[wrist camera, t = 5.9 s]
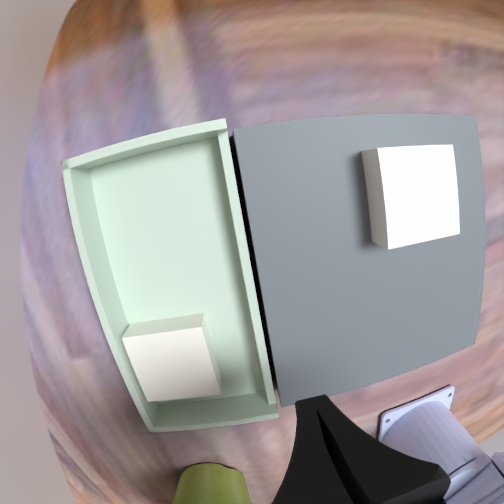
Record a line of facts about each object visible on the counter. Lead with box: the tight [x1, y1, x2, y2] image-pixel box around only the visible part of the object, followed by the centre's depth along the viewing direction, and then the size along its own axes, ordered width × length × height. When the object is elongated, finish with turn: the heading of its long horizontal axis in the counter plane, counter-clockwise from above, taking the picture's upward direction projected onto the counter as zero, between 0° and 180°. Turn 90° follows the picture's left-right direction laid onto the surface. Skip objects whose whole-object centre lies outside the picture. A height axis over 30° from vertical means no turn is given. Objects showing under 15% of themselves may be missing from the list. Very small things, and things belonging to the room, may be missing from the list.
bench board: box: [233, 114, 486, 407], centre depth 18 cm, size 17×16×2 cm
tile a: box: [122, 312, 221, 402], centre depth 19 cm, size 5×5×2 cm
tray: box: [61, 118, 279, 432], centre depth 18 cm, size 18×9×3 cm, turn 10°
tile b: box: [361, 145, 460, 250], centre depth 15 cm, size 5×5×2 cm
